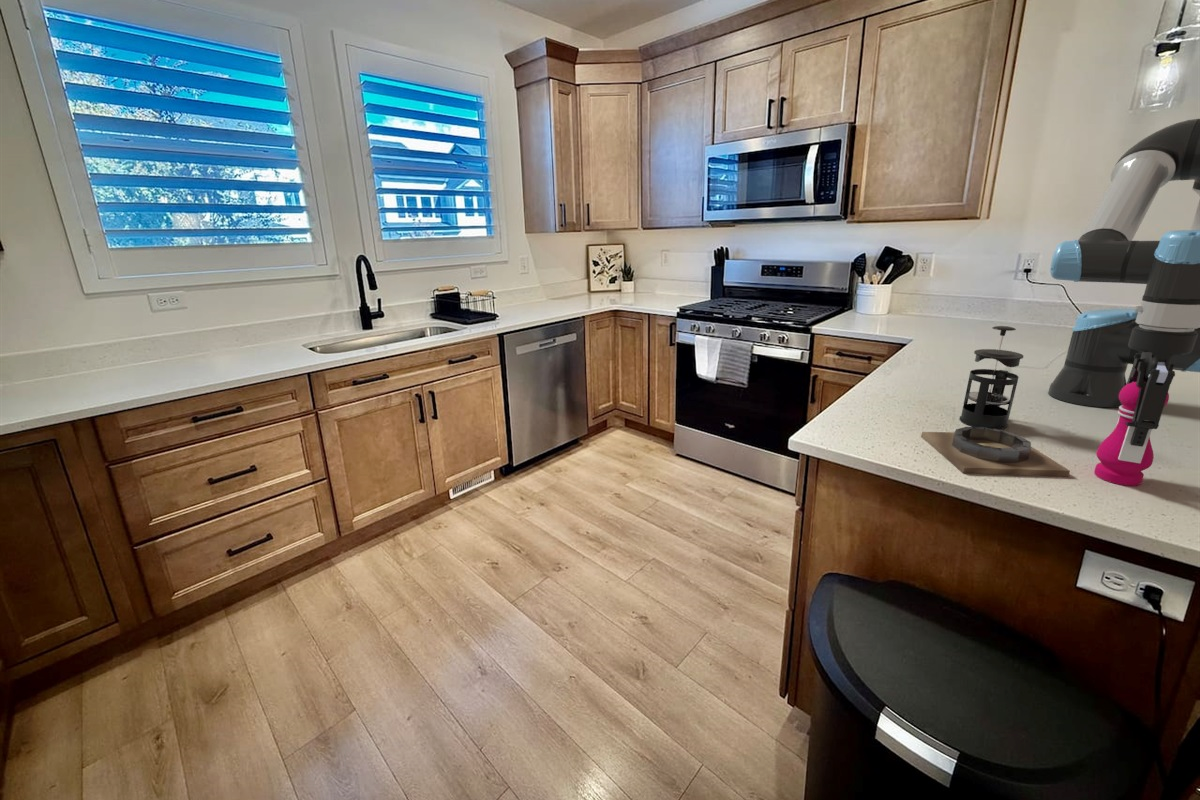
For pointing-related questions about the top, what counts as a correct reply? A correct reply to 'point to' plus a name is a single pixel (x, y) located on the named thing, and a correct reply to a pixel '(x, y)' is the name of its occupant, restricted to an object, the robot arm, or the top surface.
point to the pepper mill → (1112, 445)
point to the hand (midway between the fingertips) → (1125, 452)
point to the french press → (992, 413)
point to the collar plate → (968, 464)
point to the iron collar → (994, 454)
